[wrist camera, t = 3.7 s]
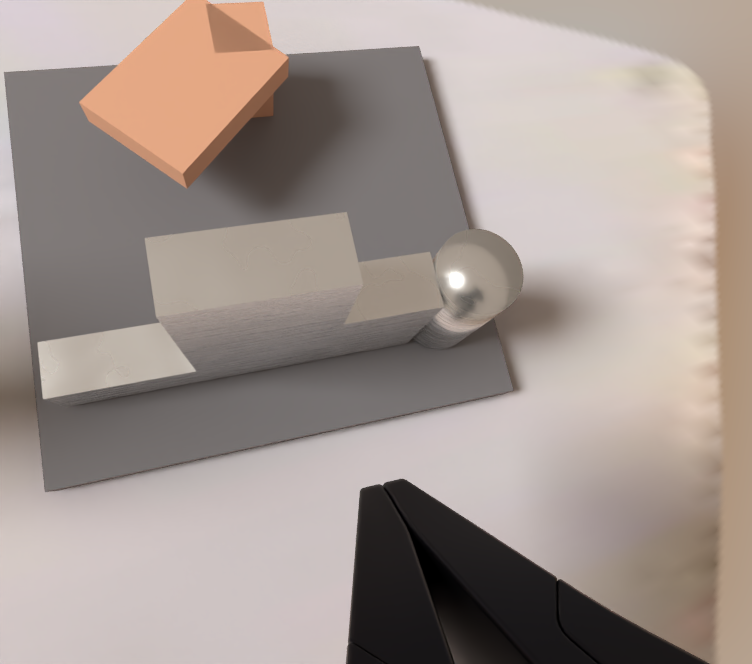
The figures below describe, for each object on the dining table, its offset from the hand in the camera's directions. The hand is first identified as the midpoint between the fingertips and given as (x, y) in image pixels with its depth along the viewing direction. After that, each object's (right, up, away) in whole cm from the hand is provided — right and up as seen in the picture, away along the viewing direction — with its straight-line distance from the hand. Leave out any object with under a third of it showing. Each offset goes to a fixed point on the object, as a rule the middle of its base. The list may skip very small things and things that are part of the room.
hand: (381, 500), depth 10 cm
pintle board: (-5, +7, +13) cm, 15 cm away
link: (-4, +3, +11) cm, 11 cm away
